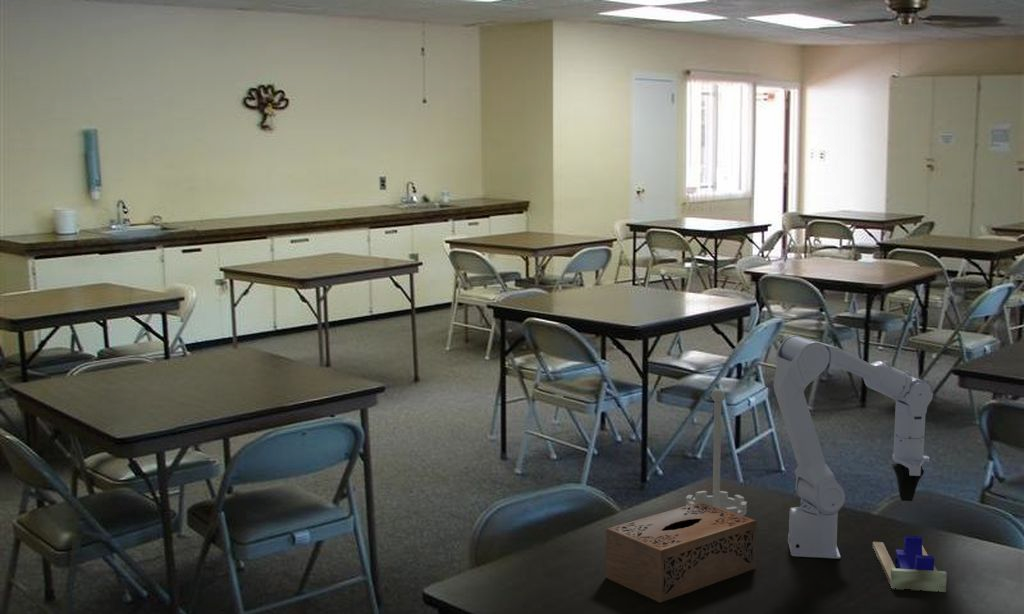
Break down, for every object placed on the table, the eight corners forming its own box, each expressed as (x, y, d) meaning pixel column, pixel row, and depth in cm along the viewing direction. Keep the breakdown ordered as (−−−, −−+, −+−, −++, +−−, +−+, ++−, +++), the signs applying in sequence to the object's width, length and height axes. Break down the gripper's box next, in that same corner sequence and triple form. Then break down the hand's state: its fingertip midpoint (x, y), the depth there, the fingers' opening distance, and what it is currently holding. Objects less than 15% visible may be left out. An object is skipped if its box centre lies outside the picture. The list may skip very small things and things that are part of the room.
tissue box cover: (699, 548, 214) (700, 501, 212) (754, 570, 202) (756, 520, 201) (606, 579, 198) (606, 528, 197) (660, 604, 187) (660, 550, 185)
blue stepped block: (894, 564, 204) (896, 534, 204) (919, 565, 204) (920, 536, 203) (907, 588, 193) (908, 557, 192) (932, 590, 192) (934, 558, 191)
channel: (891, 588, 192) (892, 570, 192) (872, 547, 213) (873, 530, 212) (945, 592, 190) (946, 573, 190) (921, 550, 211) (922, 533, 211)
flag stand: (752, 533, 221) (755, 395, 217) (690, 533, 221) (692, 395, 217) (739, 513, 234) (742, 382, 230) (681, 513, 234) (683, 382, 230)
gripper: (938, 445, 204) (934, 512, 205) (922, 427, 218) (919, 489, 220) (900, 444, 205) (897, 510, 207) (887, 425, 219) (884, 488, 221)
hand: (906, 499), depth 213 cm, fingers closed
